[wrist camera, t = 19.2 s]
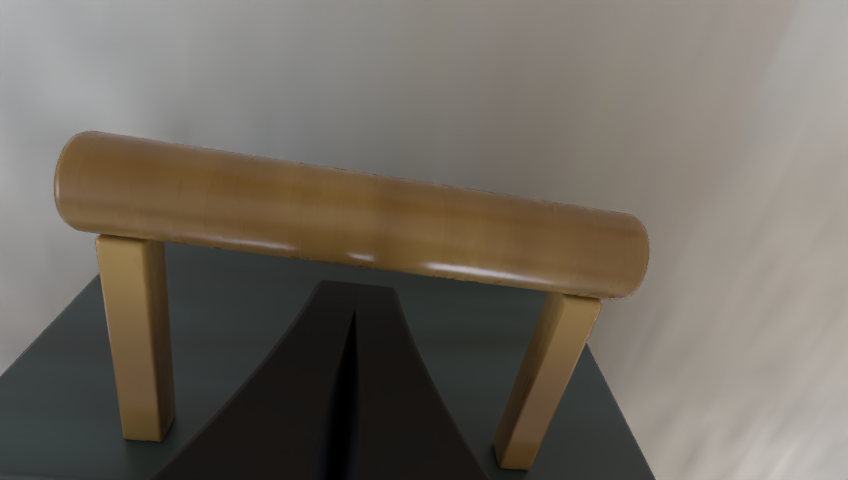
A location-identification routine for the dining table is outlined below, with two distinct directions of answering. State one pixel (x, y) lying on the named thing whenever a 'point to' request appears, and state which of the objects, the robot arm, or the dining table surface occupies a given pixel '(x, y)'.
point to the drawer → (288, 292)
